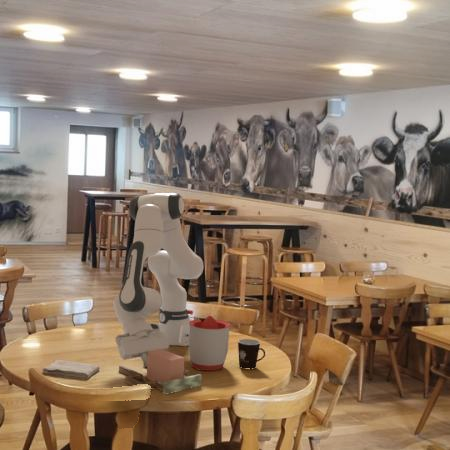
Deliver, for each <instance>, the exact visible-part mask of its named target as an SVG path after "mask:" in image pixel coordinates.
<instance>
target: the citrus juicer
mask: <svg viewBox="0 0 450 450" xmlns="http://www.w3.org/2000/svg"><path fill="white" fill-rule="evenodd" d="M191 320H192V321H190V322H189V324H190V331H189V345H188V353H189V358H190V360H189V361H190V363H191V366H192V367H193V368H195V369H196V370H198V369H200V370H199V371H219V370H221V369H222V368H223V367H224V365H225V362H226V358H227V355H228V350H229V338H230V336H229V335H230V326H231V323H229V322H228V321H224V320H221V319H216V318H214V317H213V316H212V315H208V316H206V318H205V319H204V320H203V321H202V320H201V319H200V318H199V319H191Z"/></svg>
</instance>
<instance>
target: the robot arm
mask: <svg viewBox="0 0 450 450" xmlns="http://www.w3.org/2000/svg"><path fill="white" fill-rule="evenodd" d="M128 206H129V207H128V209H129V210H128V211H129V215H130V217H131V219H133V221H135V222H134V232H133V234H134V235H133V239H132V243H131V245H130V246H129V250H128V253H127V257H126V258H127V259H126V265H125V271H124V277H123V278H124V279H123V283H122V286H121V289H120V290H119V293H118V294H117V295H116V296H115V297H114V299H113V305H112V306H113V309H114V312H115V315H116V316H117V317H116V318H117V320H118V321H119V323H120V324H121V326H122V330H123V333H124V334H123V333H122V334H118V335H116V336H115V344H116V345H117V349H118V352H119V355H120V358H121V359H122V360H131V359H136V358H140V359H141V360H142V361H143V363H144V362H146V364H147V358H148V351H152V350H158V349H163V350H165V351H168V350H169V348H170V346H181V347H187V346H189V331H190V324H189V322H190V321H192V320H193V319H191V318H190V317H189V316H190V315H191V316H192V315H193V314H194V312H195V311H194V310H192V309H188V308H187V297H188V295H187V294H188V293H187V291H186V289H185V288H184V287H183V286H182V285H181V284H180V283H179V281H178V279H182V280H183V279H184V280H194V279H195V280H196V279H199V277H200V276H201V275H202V274H203V271H204V261H203V259H202V258H201V257H200V256H199V255H197V253H195V252H194V251H193V250H192V249H191V248H190V247H189V245H188V243H187V241H186V240H185V237H184V233H183V229H182V224H181V220H180V218H181V217H182V215H183V214H184V210H185V203H184V199H183V197H182V196H181V195H180V194H179V193H175V192H169V193H168V192H155V193H149V194H145V195H144V194H143V195H142V194H140V195H135V196H133V197H132V198H131V199H130V201H129V205H128ZM147 258H148V260H147V266H148V270H149V271H150V272H151V273H152V274H153V275H154V277H155V278H156V280H157V282H158V285H159V290H160V292H159V291H158V290H157V289H154V288H151V287H146V286H143V284H142V277H143V270H144V263H145V261H146V259H147ZM157 312H158V319H159V320H158V321H159V322H158V324H157V323H153V322H152V323H151V322H149V321H146V319H145V318H147V317H150V316H152V315H154V314H156V313H157Z"/></svg>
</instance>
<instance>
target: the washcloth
mask: <svg viewBox="0 0 450 450" xmlns="http://www.w3.org/2000/svg"><path fill="white" fill-rule="evenodd" d="M100 369H101V368H100V366H99V365H97V364H92V363H86V362H79V361H71V360H64V359H56V360H54V361H53V362H52V363H50V364H48V365H46V366H45V367H43V368H42V373H43V374H46V375H50V376H51V375H52V376H57V377H66V378H73V379H74V378H75V379H81V380H87V379H90V377H92V376H93V375H95V374H96V373H98V372H99V370H100Z"/></svg>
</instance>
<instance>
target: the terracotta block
mask: <svg viewBox="0 0 450 450" xmlns="http://www.w3.org/2000/svg"><path fill="white" fill-rule="evenodd" d="M147 357H148V358H147V368H146V378H147V379H146V380H148V379H149V381H150V380H151V381H150V382H154V381H161V382H167V381H171V380H175V379H180V378H183V374H184V369H185V357H183V356H182V355H181V356H180V355H179V354H176V353H173V352H170V351H168V350H167V351H165V350H163V349H158V350H152V351H148V355H147Z"/></svg>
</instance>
